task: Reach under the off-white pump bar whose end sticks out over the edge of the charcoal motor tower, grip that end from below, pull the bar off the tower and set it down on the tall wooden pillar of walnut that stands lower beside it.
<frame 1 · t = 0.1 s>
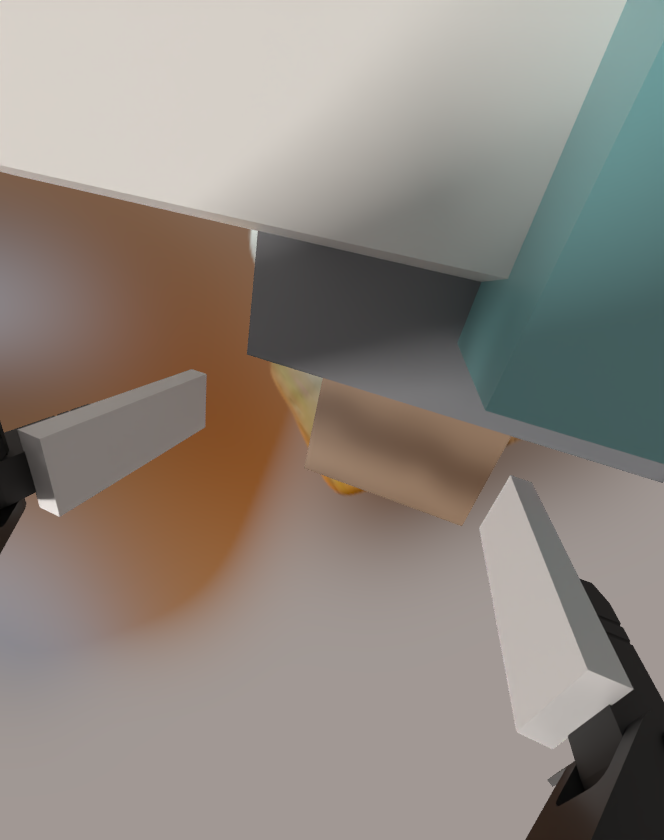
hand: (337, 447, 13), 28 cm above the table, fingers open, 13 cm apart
motor tower: (449, 271, 33), on the table
tall wooden pillar: (415, 368, 38), on the table
pump bar: (300, 169, 8), point 30 cm above the table, touching motor tower
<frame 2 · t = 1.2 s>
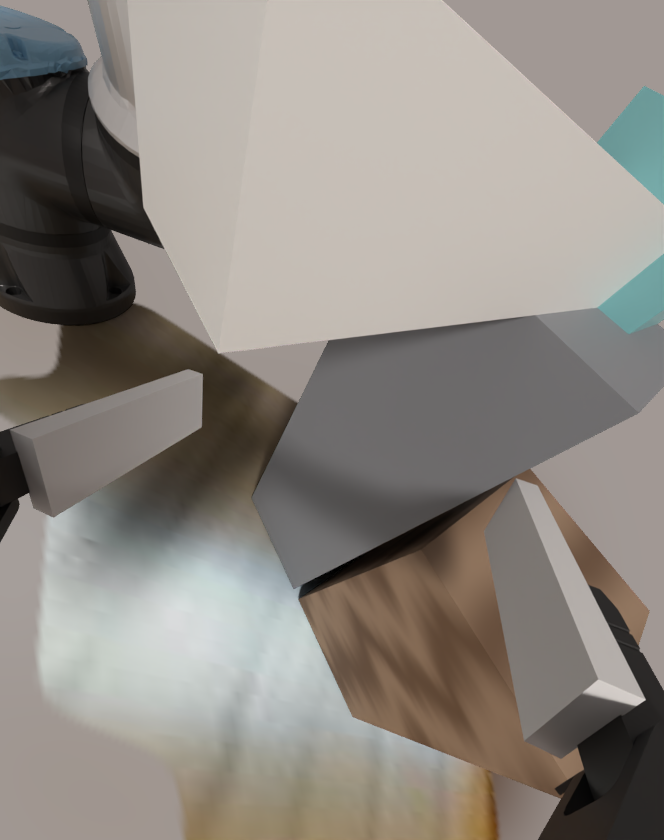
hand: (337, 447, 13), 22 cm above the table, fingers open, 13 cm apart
motor tower: (318, 516, 35), on the table
tall wooden pillar: (371, 614, 31), on the table
pump bar: (513, 281, 10), point 30 cm above the table, touching motor tower
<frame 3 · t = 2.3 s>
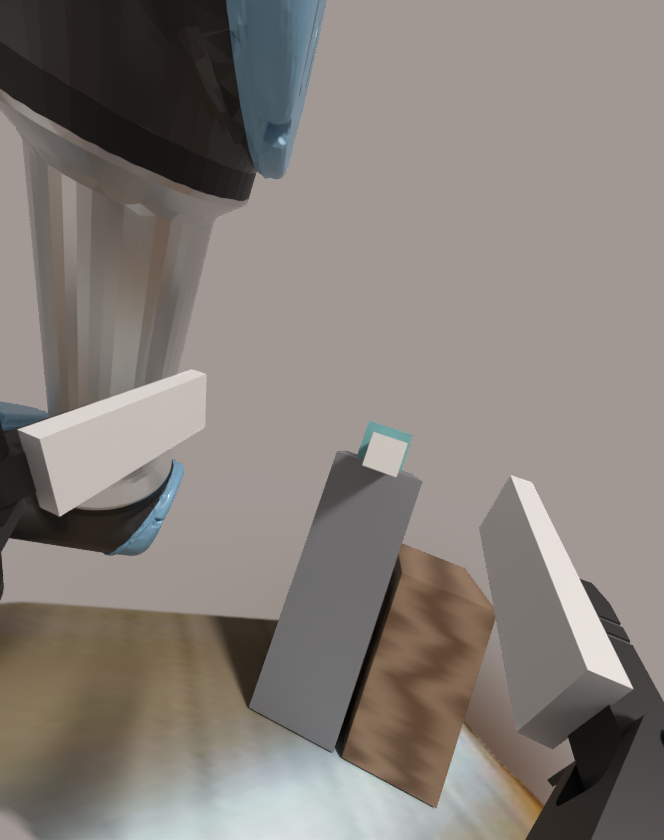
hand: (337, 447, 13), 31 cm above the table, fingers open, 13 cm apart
motor tower: (303, 687, 39), on the table
tall wooden pillar: (386, 729, 37), on the table
pump bar: (378, 465, 36), point 30 cm above the table, touching motor tower
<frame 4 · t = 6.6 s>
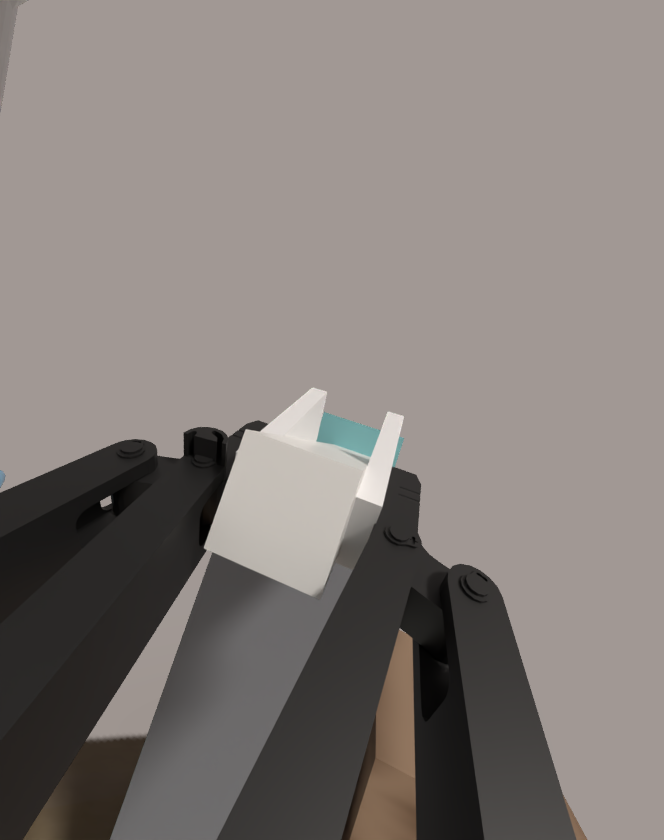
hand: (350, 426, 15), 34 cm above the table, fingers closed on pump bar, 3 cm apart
pump bar: (329, 503, 17), point 30 cm above the table, touching gripper, motor tower
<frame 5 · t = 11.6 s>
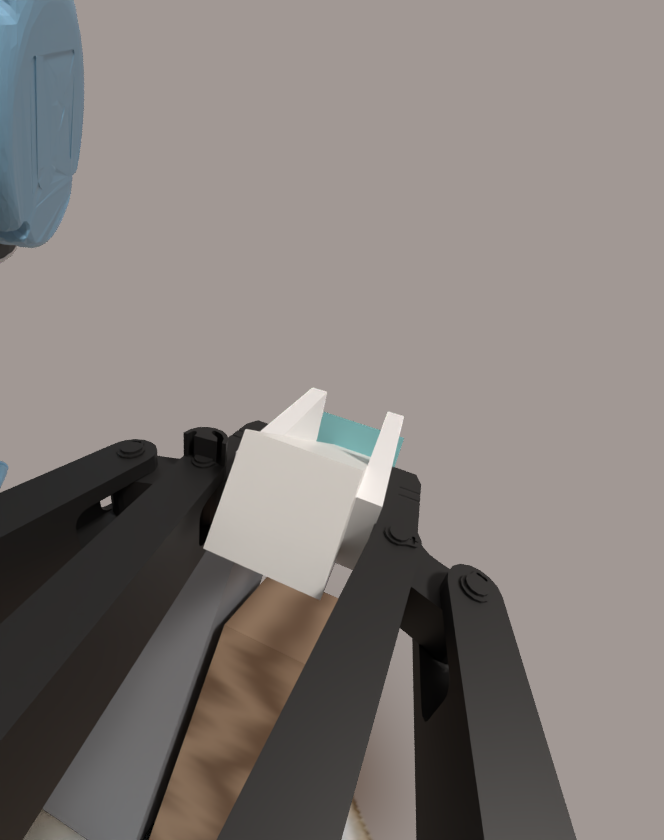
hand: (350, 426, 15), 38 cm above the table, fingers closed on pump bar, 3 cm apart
motor tower: (133, 760, 31), on the table
tall wooden pillar: (229, 818, 29), on the table
pump bar: (329, 502, 17), point 34 cm above the table, touching gripper
when the fingers open (26 cm above the table, at t = 16.4 s): pump bar drops 1 cm, resting on tall wooden pillar.
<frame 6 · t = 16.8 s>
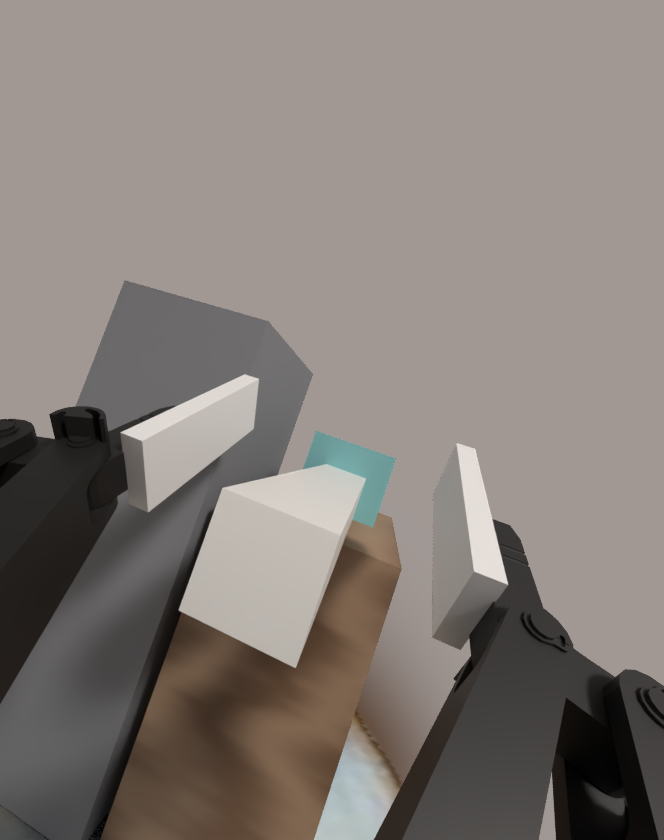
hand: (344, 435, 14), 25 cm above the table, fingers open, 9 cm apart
motor tower: (100, 714, 23), on the table
tall wooden pillar: (230, 792, 21), on the table
pump bar: (318, 529, 17), point 20 cm above the table, touching tall wooden pillar
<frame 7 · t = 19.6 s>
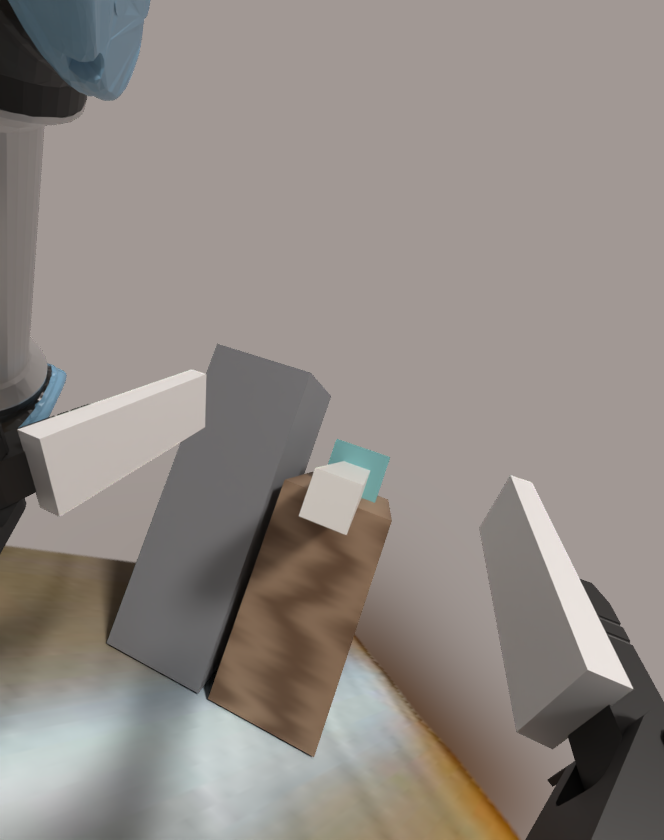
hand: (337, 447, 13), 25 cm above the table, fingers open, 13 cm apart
motor tower: (190, 630, 34), on the table
tall wooden pillar: (281, 676, 32), on the table
pump bar: (342, 499, 28), point 20 cm above the table, touching tall wooden pillar
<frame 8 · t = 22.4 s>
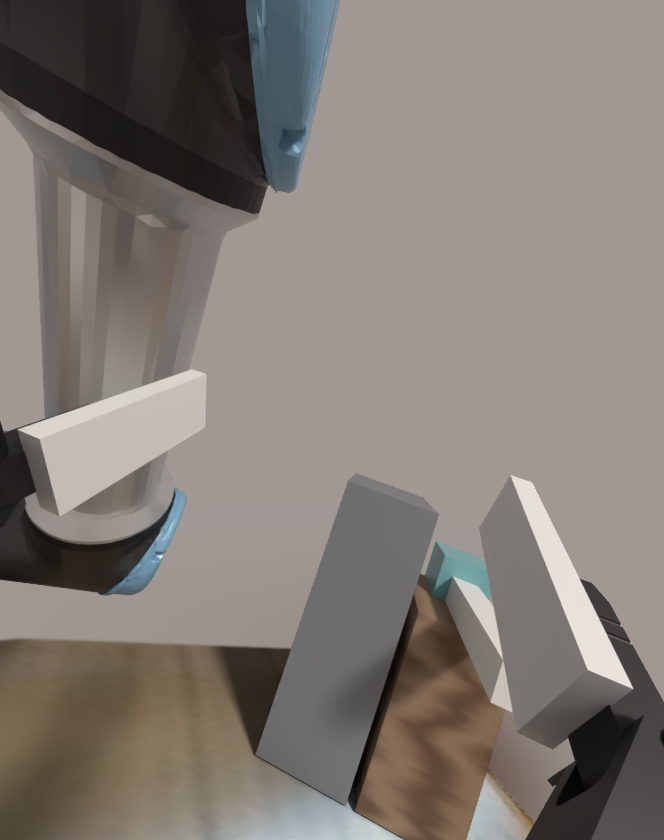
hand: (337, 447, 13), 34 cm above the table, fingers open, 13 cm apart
motor tower: (311, 727, 37), on the table
tall wooden pillar: (400, 774, 35), on the table
pump bar: (470, 630, 31), point 20 cm above the table, touching tall wooden pillar
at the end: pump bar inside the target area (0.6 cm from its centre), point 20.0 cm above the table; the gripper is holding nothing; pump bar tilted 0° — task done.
